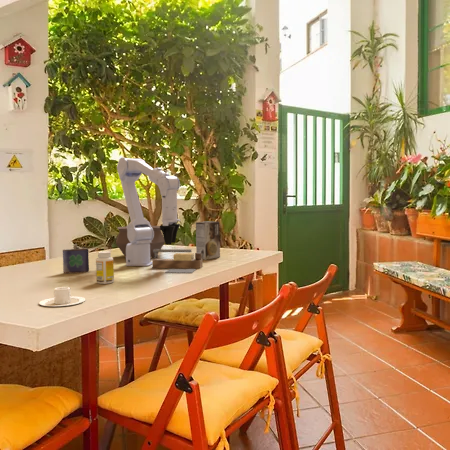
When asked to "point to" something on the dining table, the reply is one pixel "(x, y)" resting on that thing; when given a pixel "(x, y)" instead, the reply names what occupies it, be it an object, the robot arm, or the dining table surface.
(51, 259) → the dining table surface
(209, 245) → the coffee box
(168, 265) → the body
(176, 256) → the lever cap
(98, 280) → the supplement bottle
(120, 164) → the robot arm
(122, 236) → the brown round pot
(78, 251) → the flask
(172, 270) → the mat
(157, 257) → the lever
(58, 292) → the candle holder
